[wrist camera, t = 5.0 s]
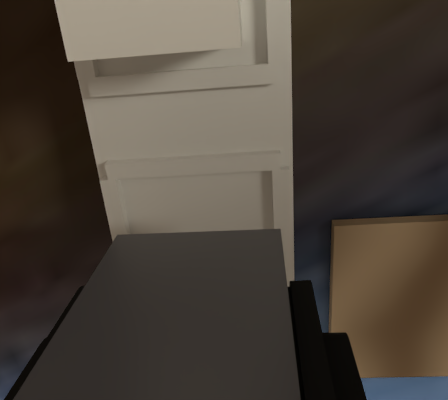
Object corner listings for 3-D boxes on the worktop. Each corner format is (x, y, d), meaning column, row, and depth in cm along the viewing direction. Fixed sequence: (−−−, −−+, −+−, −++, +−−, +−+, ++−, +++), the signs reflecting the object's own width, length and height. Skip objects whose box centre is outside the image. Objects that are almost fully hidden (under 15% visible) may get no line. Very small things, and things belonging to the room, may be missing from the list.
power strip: (60, -176, 13) (-114, -358, 7) (278, -204, 13) (310, -431, 6) (147, 291, 21) (103, 413, 14) (288, 286, 20) (307, 411, 14)
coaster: (542, 209, 18) (552, 216, 17) (502, 365, 21) (509, 375, 21) (331, 219, 18) (334, 226, 18) (327, 369, 22) (329, 378, 21)
